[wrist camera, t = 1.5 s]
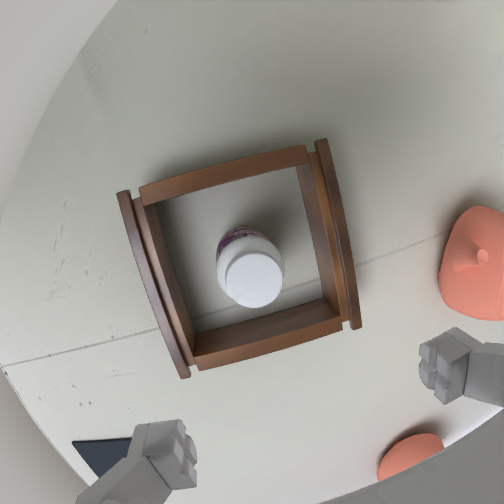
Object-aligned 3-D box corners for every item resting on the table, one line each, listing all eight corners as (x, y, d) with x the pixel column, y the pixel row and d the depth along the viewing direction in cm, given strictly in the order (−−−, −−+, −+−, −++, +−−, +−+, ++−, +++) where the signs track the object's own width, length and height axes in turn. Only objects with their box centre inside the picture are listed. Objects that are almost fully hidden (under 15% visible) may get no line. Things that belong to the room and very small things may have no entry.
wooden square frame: (132, 191, 29) (115, 193, 23) (308, 145, 30) (327, 137, 24) (185, 351, 33) (180, 379, 27) (341, 306, 34) (362, 327, 28)
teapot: (422, 179, 32) (499, 181, 20) (511, 230, 35) (572, 245, 23) (389, 289, 34) (454, 331, 22) (484, 314, 37) (540, 345, 25)
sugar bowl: (388, 431, 39) (418, 475, 29) (450, 418, 41) (481, 452, 31) (361, 480, 42) (382, 521, 32) (422, 465, 43) (446, 499, 34)
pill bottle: (265, 221, 31) (287, 235, 22) (274, 273, 32) (299, 308, 23) (210, 232, 31) (208, 252, 21) (221, 284, 32) (225, 324, 22)
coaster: (72, 441, 34) (71, 443, 33) (142, 436, 35) (142, 438, 34) (111, 489, 37) (110, 491, 36) (177, 486, 37) (177, 488, 37)
